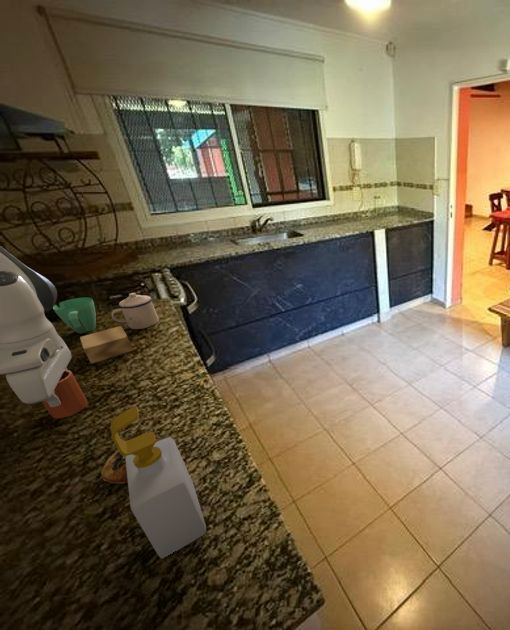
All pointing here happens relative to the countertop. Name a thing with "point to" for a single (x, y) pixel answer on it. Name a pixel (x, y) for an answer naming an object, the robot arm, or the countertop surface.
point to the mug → (78, 314)
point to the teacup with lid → (137, 311)
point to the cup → (67, 397)
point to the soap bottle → (159, 488)
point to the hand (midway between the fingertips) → (61, 394)
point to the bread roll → (117, 468)
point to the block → (106, 344)
